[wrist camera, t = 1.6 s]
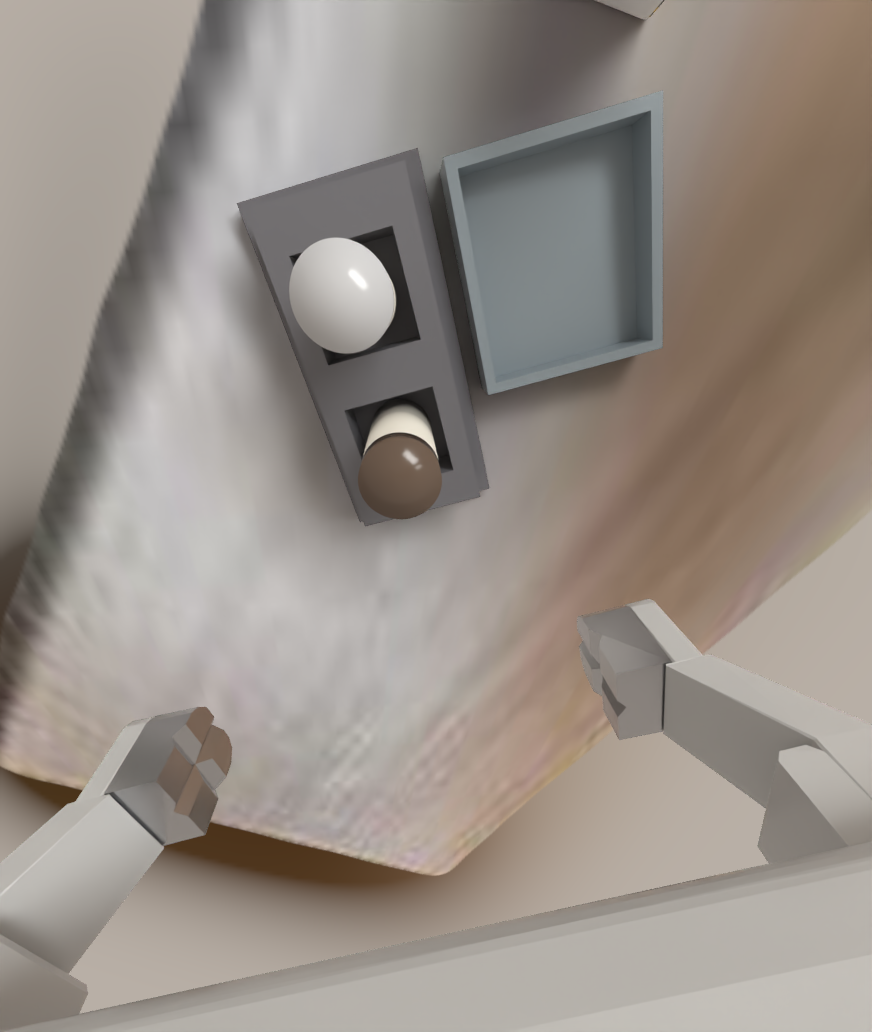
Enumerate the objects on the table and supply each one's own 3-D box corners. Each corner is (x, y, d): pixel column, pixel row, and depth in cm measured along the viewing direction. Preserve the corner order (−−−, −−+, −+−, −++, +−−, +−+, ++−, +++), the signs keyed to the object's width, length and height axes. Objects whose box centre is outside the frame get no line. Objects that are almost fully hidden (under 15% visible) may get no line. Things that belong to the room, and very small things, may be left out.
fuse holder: (243, 207, 23) (213, 189, 20) (417, 154, 23) (419, 126, 19) (361, 515, 32) (355, 542, 29) (487, 482, 32) (497, 505, 28)
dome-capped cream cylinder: (385, 252, 24) (375, 223, 15) (405, 326, 26) (405, 338, 17) (318, 271, 24) (271, 254, 15) (342, 344, 26) (312, 364, 17)
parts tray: (637, 111, 22) (663, 90, 20) (642, 344, 28) (662, 347, 26) (439, 171, 23) (443, 157, 21) (481, 387, 28) (488, 395, 26)
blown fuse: (422, 391, 27) (430, 431, 19) (437, 448, 29) (450, 507, 21) (363, 407, 28) (345, 454, 19) (382, 463, 29) (373, 527, 21)
